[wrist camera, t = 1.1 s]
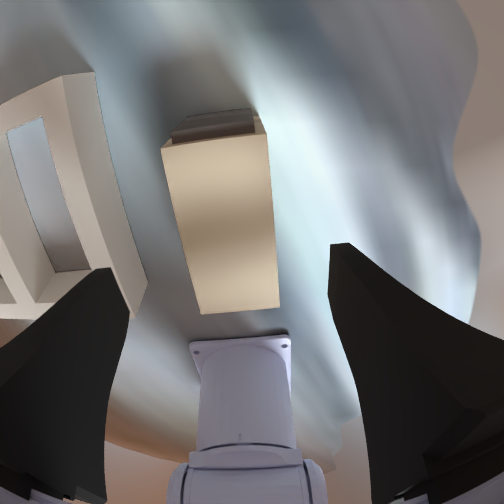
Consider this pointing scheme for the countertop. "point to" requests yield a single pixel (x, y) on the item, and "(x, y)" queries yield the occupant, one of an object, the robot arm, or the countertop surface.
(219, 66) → the countertop surface
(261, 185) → the beige boxy piece
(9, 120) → the white open frame
